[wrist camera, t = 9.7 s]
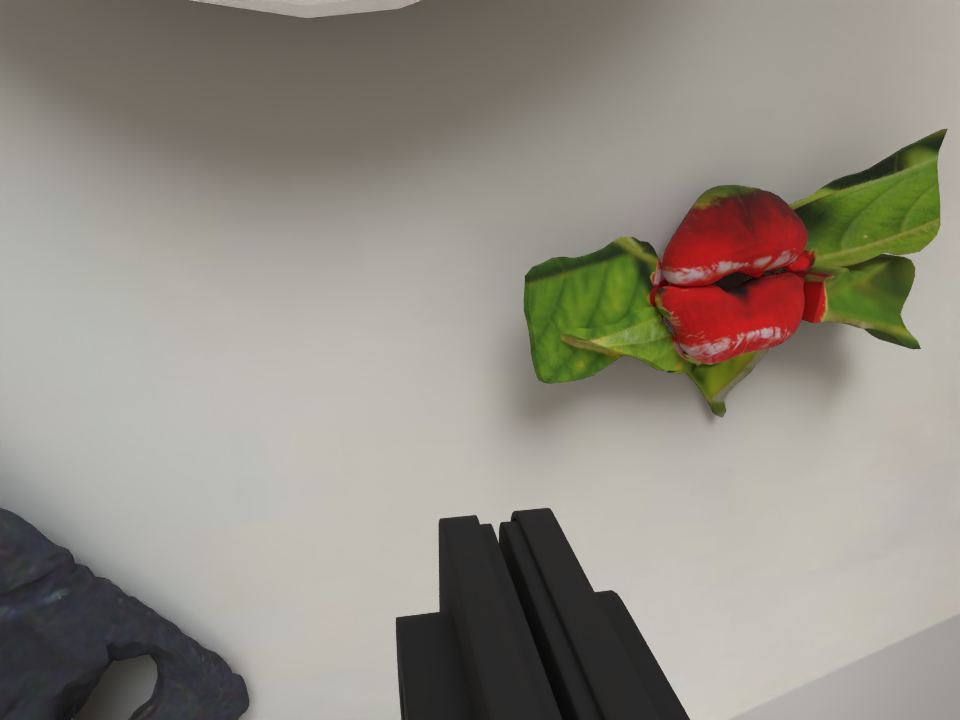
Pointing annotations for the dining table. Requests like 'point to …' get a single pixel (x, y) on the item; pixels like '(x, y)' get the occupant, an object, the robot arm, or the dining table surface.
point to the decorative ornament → (756, 302)
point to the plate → (314, 6)
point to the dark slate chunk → (92, 640)
